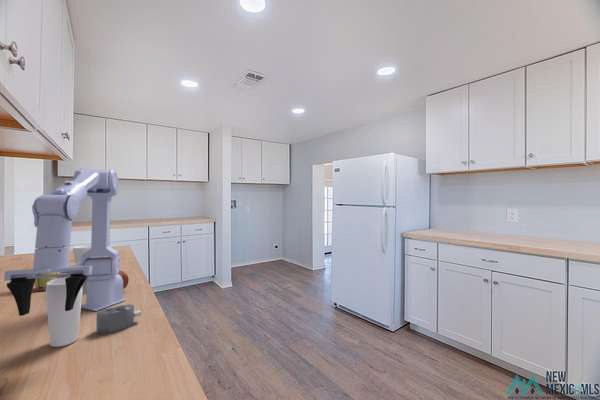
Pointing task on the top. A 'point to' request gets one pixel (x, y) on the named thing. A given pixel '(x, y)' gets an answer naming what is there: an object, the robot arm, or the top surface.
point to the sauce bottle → (43, 281)
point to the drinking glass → (62, 314)
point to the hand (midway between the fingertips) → (47, 312)
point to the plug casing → (116, 319)
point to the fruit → (124, 278)
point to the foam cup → (80, 252)
